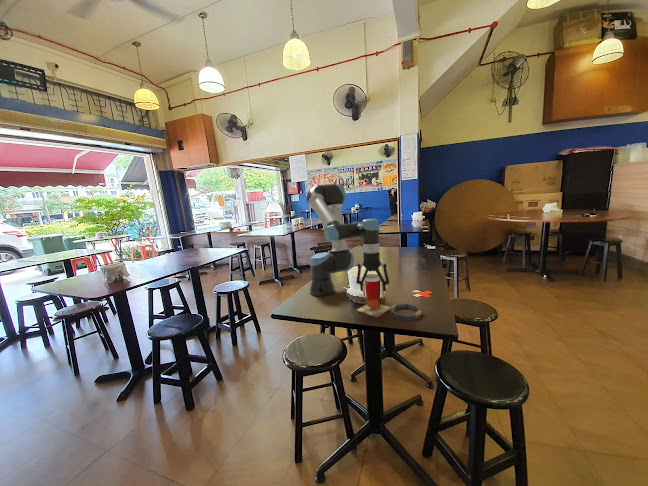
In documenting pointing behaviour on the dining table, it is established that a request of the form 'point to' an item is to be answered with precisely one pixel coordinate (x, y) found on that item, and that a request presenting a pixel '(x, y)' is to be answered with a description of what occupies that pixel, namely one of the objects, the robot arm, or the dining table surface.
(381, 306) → the plate
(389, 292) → the dining table surface
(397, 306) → the collar
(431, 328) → the dining table surface
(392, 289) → the dining table surface
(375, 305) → the coffee cup
